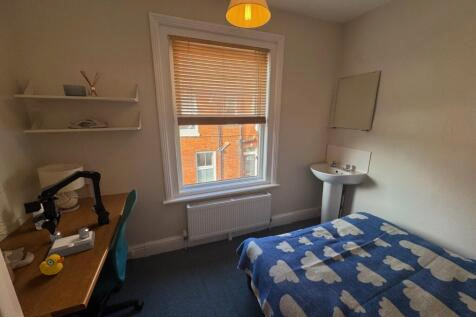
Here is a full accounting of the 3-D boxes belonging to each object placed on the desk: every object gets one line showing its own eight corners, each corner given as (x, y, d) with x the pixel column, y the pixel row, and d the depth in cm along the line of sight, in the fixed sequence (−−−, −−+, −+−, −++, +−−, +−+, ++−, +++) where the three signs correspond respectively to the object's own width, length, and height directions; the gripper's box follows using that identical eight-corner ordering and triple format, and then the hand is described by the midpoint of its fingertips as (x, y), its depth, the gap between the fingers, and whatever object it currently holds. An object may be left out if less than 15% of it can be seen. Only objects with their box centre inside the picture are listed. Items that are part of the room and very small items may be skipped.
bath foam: (47, 228, 136) (42, 201, 132) (34, 231, 133) (28, 203, 129) (51, 223, 142) (46, 197, 138) (39, 225, 139) (33, 199, 135)
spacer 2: (89, 233, 125) (88, 226, 124) (89, 237, 121) (88, 230, 120) (80, 236, 123) (78, 229, 122) (79, 240, 119) (77, 233, 118)
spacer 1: (62, 237, 127) (61, 230, 126) (60, 241, 123) (59, 234, 122) (52, 239, 124) (50, 232, 123) (50, 243, 120) (48, 236, 119)
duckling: (70, 268, 101) (67, 251, 99) (62, 276, 96) (58, 259, 94) (47, 269, 101) (43, 252, 98) (37, 277, 95) (33, 259, 93)
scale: (94, 234, 130) (93, 228, 129) (93, 248, 117) (91, 241, 116) (54, 244, 120) (53, 237, 119) (47, 260, 106) (45, 253, 105)
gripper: (36, 205, 123) (41, 227, 126) (25, 218, 107) (31, 243, 111) (59, 201, 128) (64, 222, 132) (52, 213, 113) (58, 237, 116)
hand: (54, 231), depth 122 cm, fingers open, 9 cm apart
